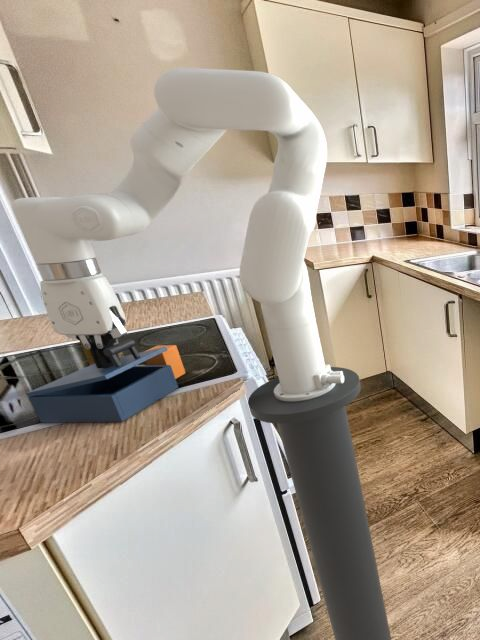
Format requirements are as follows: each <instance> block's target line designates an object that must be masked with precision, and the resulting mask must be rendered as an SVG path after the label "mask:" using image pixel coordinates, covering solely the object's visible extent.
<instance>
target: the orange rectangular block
mask: <svg viewBox="0 0 480 640" xmlns="http://www.w3.org/2000/svg"><path fill="white" fill-rule="evenodd" d="M162 347H166V348H167V349H168V350H167V351H165V352H163V353H161V354H159V355H157V356H155V357H152V358H150V359H148V360H146V361H145V363H146V365H171V368H172V371H173V373H174V376H175V379H176V380H177V379H178V378H180V377H182V376H183V375H185V374H186V369H185V367H184V363H183V361H182V358H181V356H180V353H179V349H178V347H177V344H168V345H167V344H166V345H165V344H164V345H163V344H161V345H155V346H153V347H151V348H149V349H146V350H144V351H143V352H145V351H149V350H153V349H158V348H162Z"/></svg>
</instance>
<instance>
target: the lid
mask: <svg viewBox="0 0 480 640" xmlns="http://www.w3.org/2000/svg"><path fill="white" fill-rule="evenodd" d="M135 346H136V342H135V340H134V339H131V338H128V339H126V340H123V341H121V342H119V344H116V345H114V346H111V347H109V348H106V349H104V351H103V353H104V354H105V355H106V356H108V357H110V359H111V360H112V362H113V363H114V365H113V366H111V367H109V368H97V367H96V364H92V365H89V366H86V367H83V368H81V369H78V370H76V371H73V372H71V373H69V374H67V375H65V376H63V377H60V378H58V379H56V380H53V381H51V382H49V383H46V384H44V385H41V386H39V387H37V388H35V389H32V390H30V391H28V392H25V394H26V396H27V397H31V396H35V395H40V394H44V393H49V392H53V391H58V390H62V389H67V388H71V387H76V386H80V385H84V384H89V383H93V382H98V381H102V380H107V379H109V378H111V377H113V376H115V375H117V374H119V373H121V372H123V371H126V370H128V369H130V368H132V367H134V366H136V365H141V364H142V363H144V362H146V360H148V359H150V358H152V357H155V356H157V355H159V354H161V353H163V352H165V351H167V350H168V349H167V348H166V347H162V348H158V349H153V350H149V349H148V350H149V351H146V350H144V351H145V352H144V351H140V352H138V350H137V349H136V347H135ZM127 350H128V351H129V352H130V354H128V355H124V356H123V357H119V359H120V361H119V359H118V357H117V356H116V354H118V353H120V352H123V353H124V351H125V352H126V351H127Z"/></svg>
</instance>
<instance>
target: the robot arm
mask: <svg viewBox="0 0 480 640" xmlns="http://www.w3.org/2000/svg"><path fill="white" fill-rule="evenodd" d="M153 95H154V99H155V102H156V104H157V106H158V107H157V108H156V109H155V110H154V111H153V112H152V113H151V114H150V116H149V117H148V118H147V119H146V120H145V121H144V122H143V123H142V124H141V125H140V126H139V127H138V129H136V131H135V132H134V133H133V134H132V135H131V137H130V139H129V143H130V148H131V150H132V155H133V161H132V164H131V167H130V169H129V170H128V172H127V173H126V175H124V177H123V178H122V180H121V181H119V183H118V184H117V185H116V186H115V187H114V188H113V189H112V190H111V191H110V192H109V193H93V194H92V193H91V194H89V193H88V194H80V195H75V196H68V197H64V196H32V197H19V198H16V199H14V200H13V201H12V203H11V209H12V212H13V214H14V217H15V219H16V221H17V223H18V226H19V228H20V231H21V233H22V235H23V238H24V240H25V242H26V245H27V247H28V250H29V251H30V253H31V256H32V258H33V261H34V262H35V265H36V268H37V271H38V272H39V275H40V277H41V279H42V280H40V282H39V283H40V286H39V287H40V292H41V296H42V301H43V305H44V308H45V311H46V315H47V316H48V319H49V322H50V324H51V326H52V329H53V330H54V332H55V333H56V334H58V335H62V336H66V338H68V339H74V340H78V341H79V342H80V341H81V342H82V343H83V345H84V347H85V348H87V349H89V350H90V352H91V355H92V357H93V359H94V362H95V364H96V367H97V368H109V367H111V366H113V365H114V363H113V362H112V360H111V359H110V357H108V356H106V355H105V354H104V353H103V351H104V349H106V348H109V347H111V346H114V344H115V343H116V339H118V338H121V337H124V336H126V335H128V331H127V330H126V328H125V326H126V325H127V318H126V316H125V312H124V310H123V308H122V307H123V306H122V304H121V302H120V301H119V298H118V297H117V294H116V292H115V290H114V289H113V287H112V285H111V283H110V282H109V280H108V278H107V277H106V276H105V275H103V273H102V270H101V267H100V265H99V264H100V263H99V262H98V259H97V256H96V254H95V251H94V249H93V247H92V244H91V241H93V242H94V241H95V242H105V241H112V240H116V239H120V238H123V237H129V236H133V235H136V234H139V233H141V232H143V231H144V230H146V229H147V228H148V227H149V226H150V225H151V224H152V223H153V222H155V220H156V219H157V218H158V217H159V215H161V213H162V212H164V210H165V209H166V208H167V207H168V206H169V204H170V203H171V202H172V200H173V199H174V197H175V196H176V194H177V193H178V191H179V189H180V187H181V186H182V184H183V182H184V180H185V178H186V176H187V175H188V174H189V173H190V172H191V171H192V169H194V167H195V166H196V165H197V164H198V163H199V162H200V160H202V159H203V157H204V156H206V154H208V152H209V151H210V150H211V148H213V146H214V145H215V144H216V143H217V142H218V141H219V140H220V139H221V138H222V137H223V136H224V134H225V133H226V132H227V131H229V130H230V131H231V130H232V131H266V132H268V133H271V134H272V135H273V136H275V139H276V141H277V152H276V155H275V159H274V162H273V168H272V175H271V179H270V180H271V181H270V184H269V188H268V192H267V193H265V194H263V195H261V196H260V197H259V198H258V199H257V200H256V201H255V203H254V205H253V206H252V209H251V212H250V214H249V218H248V224H247V227H246V234H245V238H244V244H243V249H242V254H241V259H240V264H239V280H240V284H241V286H242V289H243V290H244V291H245V293H246V294H247V295H248V296H249V297H250V298H251V299H253V300H254V301H257V302H259V303H260V307H261V313H262V318H263V321H264V326H265V330H266V333H267V338H268V342H269V346H270V350H271V354H272V357H273V361H274V365H275V369H276V373H277V377H279V381H280V383H279V384H278V385H277V386H276V387H275V389H274V395H275V397H276V398H277V399H279V400H282V401H287V402H295V401H304V400H309V399H312V398H316V397H318V396H321V395H323V394H325V393H327V392H329V391H330V390H331V389H333V388H334V386H335V385H336V383H344V375H343V371H332V370H331V368H330V367H331V364H326V362H325V357H324V353H323V347H322V343H321V338H320V334H319V328H318V324H317V323H318V322H317V319H316V315H315V314H316V313H315V308H314V303H313V298H312V292H311V284H310V277H309V276H310V275H309V271H308V267H307V264H306V262H305V258H306V252H307V249H308V244H309V240H310V236H311V235H312V233H313V232H314V230H315V227H316V224H317V223H316V222H317V213H318V208H319V203H320V199H321V194H322V188H323V183H324V178H325V173H326V167H327V163H328V162H327V161H328V144H327V140H326V139H327V138H326V135H325V132H324V128H323V127H322V125H321V122H320V121H319V120H318V118H317V117H316V115H315V114H314V113H313V111H312V110H311V109H310V108H309V107H308V105H307V104H306V102H304V101H303V100H302V99H301V98H300V97H299V95H298V94H297V93H296V92H295V91H294V90H293V88H292V87H291V86H290V85H289V84H288V83H287V82H286V81H284V80H283V79H282V78H281V77H278V76H276V75H275V74H272V73H268V72H265V71H260V70H259V71H258V70H244V69H222V68H221V69H219V68H203V67H175V68H170V69H167V70H165V71H164V72H162V73H160V75H159V76H158V77H157V78H156V80H155V83H154V87H153ZM103 335H104V336H103ZM116 356H117V357H118V359H119V356H118V354H116ZM119 361H120V359H119Z"/></svg>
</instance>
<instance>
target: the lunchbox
mask: <svg viewBox="0 0 480 640" xmlns="http://www.w3.org/2000/svg"><path fill="white" fill-rule="evenodd" d="M142 365H143V366H134V367H132V368H130V369H128V370H126V371H123V372H121V373H119V374H117V375H115V376H113V377H111V378H109V379H107V380H102V381H98V382H93V383H89V384H84V385H80V386H76V387H71V388H67V389H62V390H58V391H53V392H49V393H44V394H40V395H35V396H31V397H28V396H27V397H28V400H29V402H30V404H31V406H32V407H33V410H34V412H35V414H36V416H37V418H38V419H39V421H40V423H42V424H43V423H44V424H45V423H46V424H47V423H109V422H110V423H117V422H118V423H121V422H124V421H125V420H127V419H129V418H130V417H132V416H134V415H136V414H137V413H139V412H141V411H142V410H144V409H145V408H147V407H149V406H151V405H152V404H154V403H155V402H157V401H158V400H160V399H162V398H163V397H166V396H167V395H168V394H170V393H172V392H174V391H175V390H177V389H178V388H179V384H178V381H177V378H176V379H175V376H174V373H173V371H172V368H171V365H147V364H146V365H145V364H142Z"/></svg>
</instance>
